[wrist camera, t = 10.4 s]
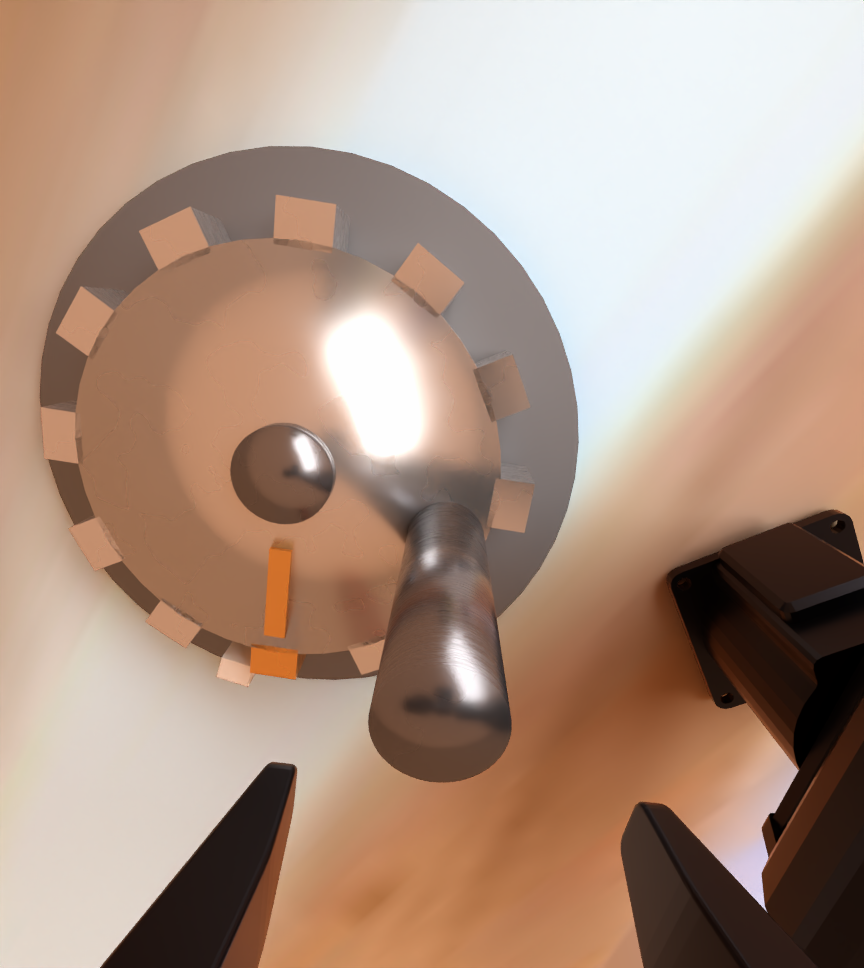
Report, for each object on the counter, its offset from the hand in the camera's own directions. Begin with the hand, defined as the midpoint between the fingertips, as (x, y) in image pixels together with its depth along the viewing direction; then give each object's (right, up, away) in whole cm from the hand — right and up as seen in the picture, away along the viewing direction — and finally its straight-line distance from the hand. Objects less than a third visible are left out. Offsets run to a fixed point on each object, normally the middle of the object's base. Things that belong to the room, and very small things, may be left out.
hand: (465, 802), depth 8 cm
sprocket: (-5, +6, +10) cm, 13 cm away
